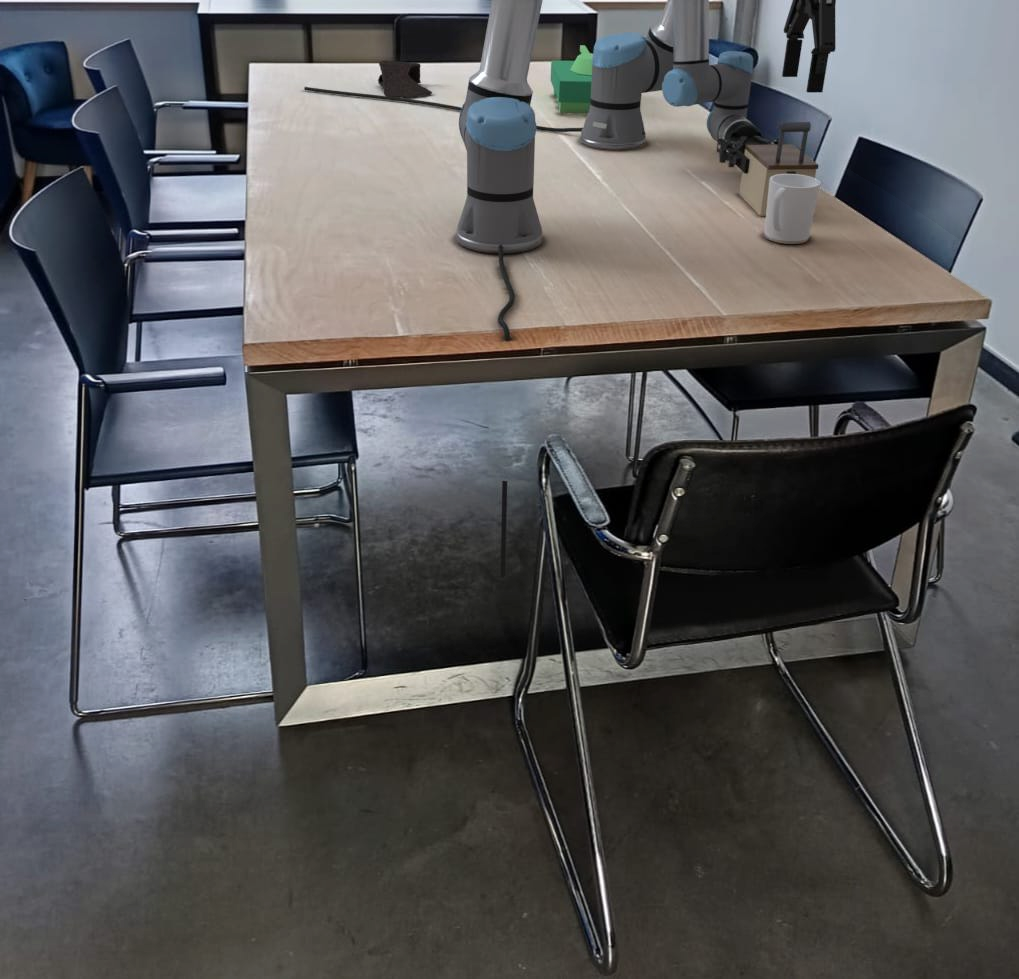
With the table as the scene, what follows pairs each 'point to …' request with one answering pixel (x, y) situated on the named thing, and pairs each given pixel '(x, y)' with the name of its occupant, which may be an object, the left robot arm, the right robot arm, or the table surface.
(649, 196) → the table surface
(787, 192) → the mug
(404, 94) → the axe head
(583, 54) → the toy tank
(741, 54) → the right robot arm
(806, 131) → the lid
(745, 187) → the chest
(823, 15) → the left robot arm
